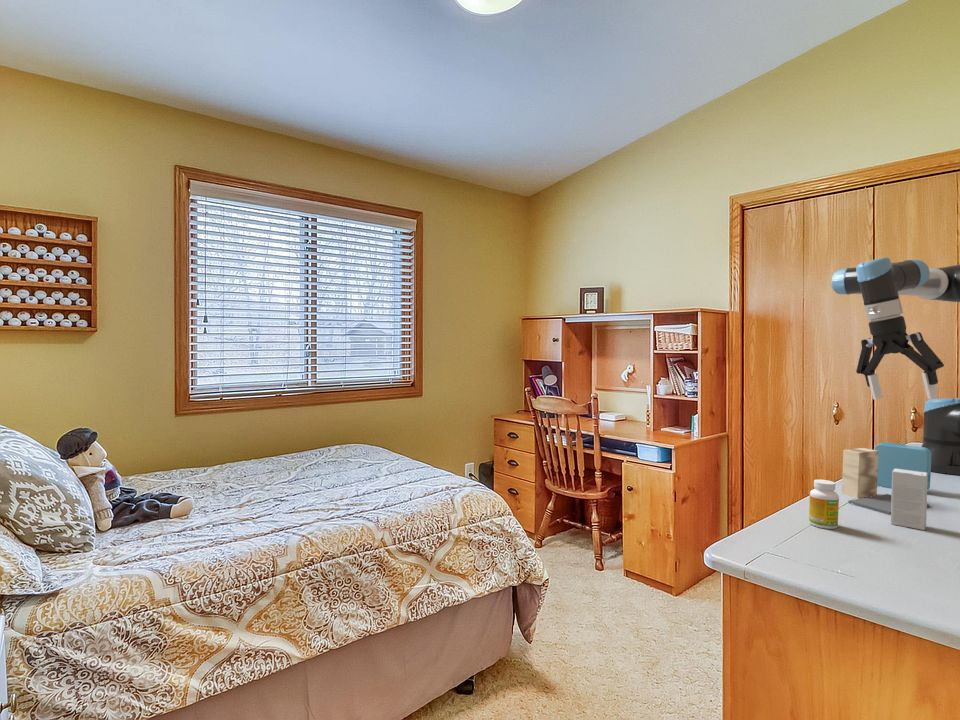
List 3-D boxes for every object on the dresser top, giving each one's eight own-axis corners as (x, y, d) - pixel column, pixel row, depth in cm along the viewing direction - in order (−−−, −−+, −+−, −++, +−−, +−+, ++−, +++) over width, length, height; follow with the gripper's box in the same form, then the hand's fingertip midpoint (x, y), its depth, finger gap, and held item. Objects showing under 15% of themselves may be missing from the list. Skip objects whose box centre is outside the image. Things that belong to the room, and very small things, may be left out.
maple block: (860, 491, 146) (862, 447, 146) (876, 495, 142) (878, 450, 142) (841, 494, 143) (843, 449, 142) (857, 498, 139) (859, 452, 139)
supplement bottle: (828, 531, 115) (830, 486, 115) (803, 523, 120) (805, 480, 120) (842, 527, 118) (844, 483, 117) (817, 519, 123) (819, 477, 122)
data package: (929, 491, 147) (931, 448, 146) (926, 494, 144) (928, 450, 143) (876, 482, 156) (878, 441, 155) (872, 485, 153) (874, 443, 152)
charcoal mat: (887, 496, 142) (887, 494, 142) (929, 506, 133) (929, 504, 133) (848, 503, 135) (848, 500, 135) (889, 514, 127) (889, 512, 127)
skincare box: (926, 526, 119) (928, 472, 119) (924, 531, 116) (927, 476, 115) (891, 519, 123) (894, 467, 123) (889, 524, 120) (891, 471, 120)
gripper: (830, 327, 151) (848, 401, 150) (927, 312, 127) (948, 400, 127) (850, 322, 153) (867, 395, 153) (948, 307, 129) (969, 393, 129)
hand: (904, 398), depth 140 cm, fingers open, 13 cm apart
